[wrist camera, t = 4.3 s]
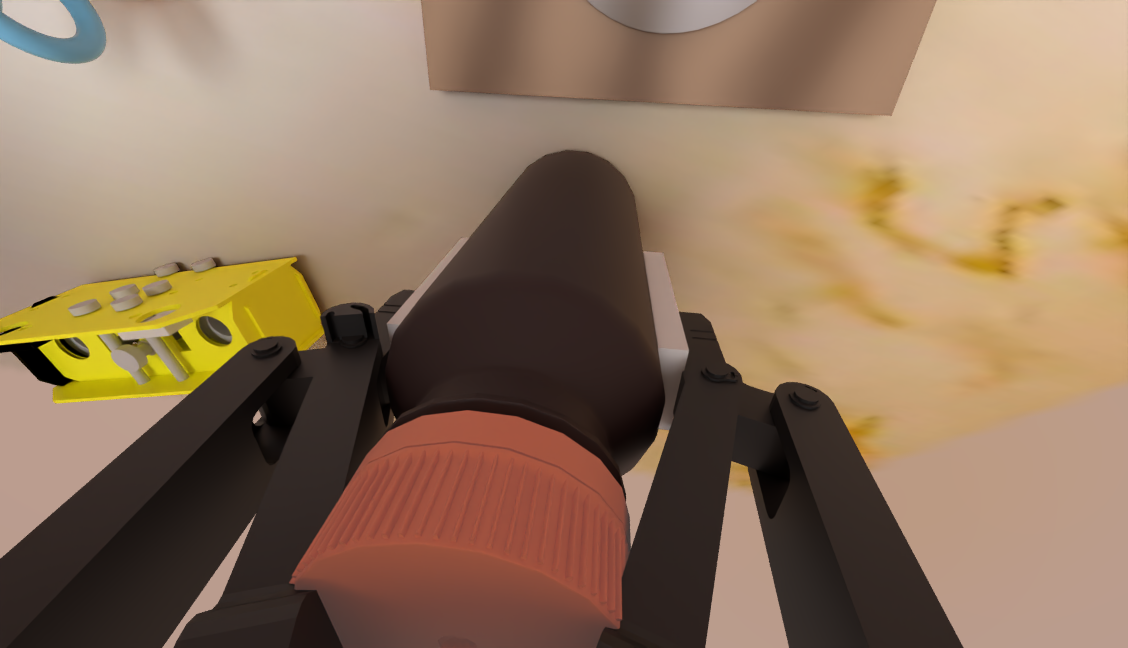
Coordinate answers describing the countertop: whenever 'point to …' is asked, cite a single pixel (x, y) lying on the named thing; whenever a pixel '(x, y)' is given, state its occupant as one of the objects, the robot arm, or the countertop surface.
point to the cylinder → (68, 50)
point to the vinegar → (506, 434)
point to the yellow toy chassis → (158, 328)
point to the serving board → (680, 50)
